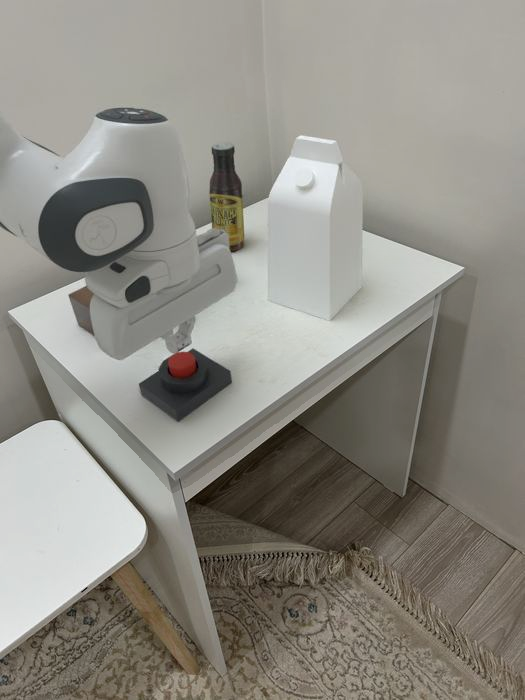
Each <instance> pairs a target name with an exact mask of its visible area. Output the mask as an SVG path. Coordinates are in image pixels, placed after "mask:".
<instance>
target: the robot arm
mask: <svg viewBox="0 0 525 700" xmlns="http://www.w3.org/2000/svg"><path fill="white" fill-rule="evenodd" d="M189 201H190V183H189V178H188V171H187V166H186V162H185V157H184V153H183V149H182V146H181V141H180V138H179V135H178V133H177V130H176V128H175V126H174V124H173V123H172V121H171V120H170V119H168V118H167V117H166V116H165V115H163V114H160V113H158V112H156V111H153V110H149V109H145V108H134V107H114V108H113V107H112V108H108V109H104V110H103V111H100V112H97V113H96V114H95V115H94V116H93V121H92V124H91V126H90V128H89V130H88V131H87V132H86V134H85V135H84V137H83V138H82V140H81V141H80V142H79V143H78V144H77V145H76V146H75V148H73V149H72V150H71V151H70V152H69V153H68V154H67V155H66V156H65V157H62V156H60V155H59V154H58V153H56V152H54V151H52V150H51V149H49V148H47V147H46V146H44V145H42V144H40V143H37V142H35V141H33V140H31V139H29V138H27V137H26V136H23V135H22V134H21V133H20V132H18V130H16V129H15V128H14V126H13V125H12V124H11V123H10V122H9V120H8V119H7V118H6V117H5V115H3V113H2V112H1V111H0V228H1V229H3V230H5V231H6V232H8V233H10V234H11V235H12V236H14V237H17V238H19V239H20V240H21V241H23V242H24V243H25V244H27V245H28V246H30V247H31V248H32V249H34V250H35V251H36V252H38V253H39V254H41V255H42V256H43V257H45V258H46V259H47V260H49V261H51V262H52V263H53V264H55V265H57V266H58V267H60V268H62V269H64V270H67V271H69V272H74V273H86V274H85V277H84V283H85V286H87V287H88V289H89V290H91V291H92V292H93V293H94V295H93V297H92V299H91V302H90V317H91V322H92V327H93V331H94V335H95V336H94V335H93V336H94V338H95V342H96V345H97V346H98V348H99V349H100V350H101V351H102V352H103V353H105V354H106V355H107V356H109V357H110V358H112V359H115V360H117V361H123V360H125V359H126V358H128V357H130V356H131V355H133V354H134V353H136V352H138V351H139V350H141V349H143V348H145V347H146V346H148V345H149V344H151V343H152V342H154V341H156V340H157V339H159V338H160V339H162V340H163V341H164V343H165V347H166V349H167V351H168V352H169V353H171V355H173V354H174V355H175V354H176V353H178V352H182V350H184V349H185V348H187V347H189V346H191V345H192V344H193V342H192V333H193V329H194V327H195V324H196V315H198V314H200V313H202V312H203V311H205V310H206V309H208V308H209V307H211V306H213V305H214V304H216V303H218V302H219V301H221V300H223V299H224V298H225V297H227V296H229V295H230V294H232V293H234V292H235V290H236V288H237V286H238V275H237V269H236V265H235V262H234V258H233V255H232V251H230V250H229V239H228V235H227V233H226V232H225V231H224V230H222V229H218V228H212V227H211V228H210V229H208V230H206V232H204V233H201V234H199V235H197V229H196V224H195V221H194V219H193V216H192V214H191V212H190V208H189ZM219 232H220V233H219ZM177 327H178V330H177V331H176V332H175V333H174V329H175V328H177Z"/></svg>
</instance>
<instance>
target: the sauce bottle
mask: <svg viewBox="0 0 525 700" xmlns="http://www.w3.org/2000/svg"><path fill="white" fill-rule="evenodd" d="M235 149H236V148H235V144H234V143H233V142H229V141H218V142H215V143H213V144H212V145H211V155H212V160H213V172H212V174H211V177H210V179H209V193H208V196H209V197H208V198H209V209H210V210H209V211H210V219H211V229H212V228H218V229H222V230H224V231H225V232H226V233H227V235H228V239H229V250H230V252H235V251H238V250H240V249H241V248H243V246H244V243H245V221H244V200H243V199H244V198H243V197H244V196H243V189H242V187H243V185H242V184H243V183H242V180H241V178H240V177H239V174H237V172H236V165H235V152H236V151H235ZM219 233H220V232H219Z"/></svg>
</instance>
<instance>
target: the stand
mask: <svg viewBox="0 0 525 700" xmlns="http://www.w3.org/2000/svg"><path fill="white" fill-rule="evenodd" d="M93 295H94V293H93V292H92V291H91V290H89V289H88V287H87V285H85V286H82V287H81V288H78V289H77V290H74V291H72V292H71V293H69V294H67V296H68V298H69V302H70V305H71V307H72V311H73V313H74V316H75V319H76V322H77V325H78V326H79V327H81V328H82V329H83V330H85V331H87V332H88V333H90V334H91V335H93V336H94V337H95V335H94V331H93V327H92V322H91V317H90V302H91V299H92V297H93Z"/></svg>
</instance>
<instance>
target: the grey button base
mask: <svg viewBox="0 0 525 700" xmlns="http://www.w3.org/2000/svg"><path fill="white" fill-rule="evenodd" d="M187 352H189V353H191V354H193V356H194V358H195V363H196V371H195V373H194V374H192V375H191V376H188V377H184V378H175V377H173V376H172V375H171V373H170V369H169V365H168V360H169V358H170V357H171V356H172V355H170V356H169V357H166V358H165V359H164V360H162V362H161V364H160V366H159V368H158V369H157V371H155V372H154V373H153V374H151V375H149V376H148V377H147V378H145V379H143V380H142V381H140V382H139V383H138V387H139V392H140V394H141V396H142V397H143V398H145V399H146V400H147V401H149V402H150V403H151V404H153V405H154V406H155V407H157V408H158V409H160V410H161V411H162V412H164V413H165V414H166V415H168V416H169V417H171V418H172V419H174V421H176V422H177V423H179V422H181V421H182V420H183V419H184V418H186V417H187V416H188V415H190V414H191V413H193V412H194V411H195V410H197V409H198V408H199V407H201V406H202V405H204V404H205V403H206V402H207V401H209V400H211V398H213V397H214V396H216V395H217V394H218V393H220V392H221V391H223V390H224V389H225V388H227V387H228V386H229V385H230V384H232V383H233V380H232V372H231V370H229V368H227V367H225V366H224V365H221V364H220V363H218V362H216V361H215V360H214V359H212V358H210V357H208V356H207V355H205V354H203V353H202V352H201V351H198V350H197V349H195V348H191V349H190V350H188V351H187Z"/></svg>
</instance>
